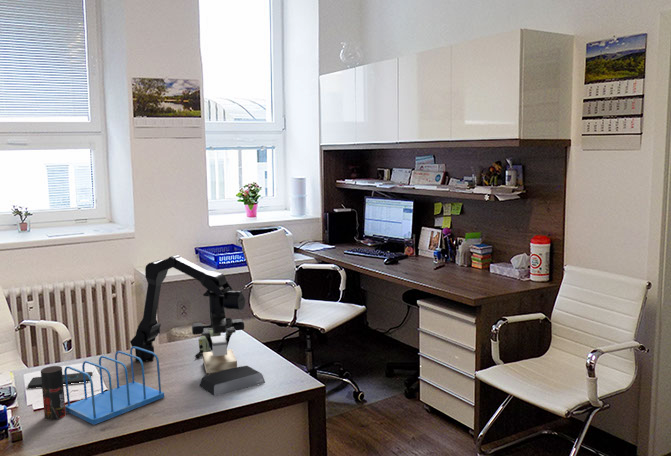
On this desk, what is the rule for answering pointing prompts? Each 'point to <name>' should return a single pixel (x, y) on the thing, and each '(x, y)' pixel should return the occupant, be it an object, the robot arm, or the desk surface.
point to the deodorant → (53, 393)
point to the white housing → (219, 345)
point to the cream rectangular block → (219, 362)
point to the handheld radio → (205, 343)
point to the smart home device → (70, 379)
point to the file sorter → (113, 393)
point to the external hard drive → (231, 380)
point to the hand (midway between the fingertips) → (218, 348)
